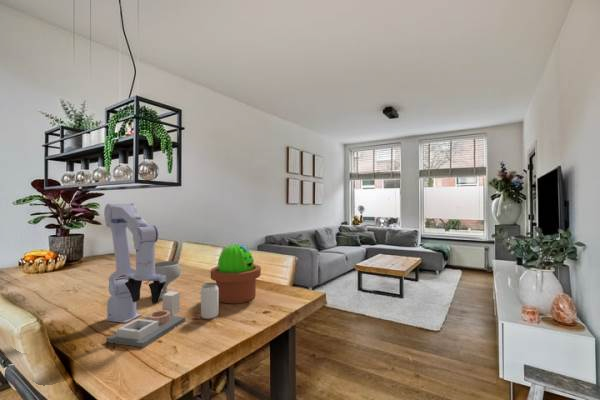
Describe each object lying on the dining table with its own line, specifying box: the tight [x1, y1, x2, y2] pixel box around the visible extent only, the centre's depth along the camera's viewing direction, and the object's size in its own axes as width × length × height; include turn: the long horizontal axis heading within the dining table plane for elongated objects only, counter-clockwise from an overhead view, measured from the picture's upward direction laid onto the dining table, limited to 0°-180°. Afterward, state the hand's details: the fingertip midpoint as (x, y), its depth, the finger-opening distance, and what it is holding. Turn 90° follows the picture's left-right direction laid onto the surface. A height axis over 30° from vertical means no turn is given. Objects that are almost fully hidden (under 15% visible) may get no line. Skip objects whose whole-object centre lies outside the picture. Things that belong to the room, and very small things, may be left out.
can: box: [200, 282, 219, 320], centre depth 113 cm, size 6×6×12 cm
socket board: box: [105, 309, 186, 348], centre depth 100 cm, size 14×20×4 cm
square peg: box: [162, 291, 181, 316], centre depth 115 cm, size 4×4×8 cm
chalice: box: [150, 260, 182, 300], centre depth 137 cm, size 14×14×15 cm
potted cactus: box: [210, 243, 262, 305], centre depth 134 cm, size 22×22×25 cm
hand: (145, 302), depth 98 cm, fingers open, 7 cm apart
